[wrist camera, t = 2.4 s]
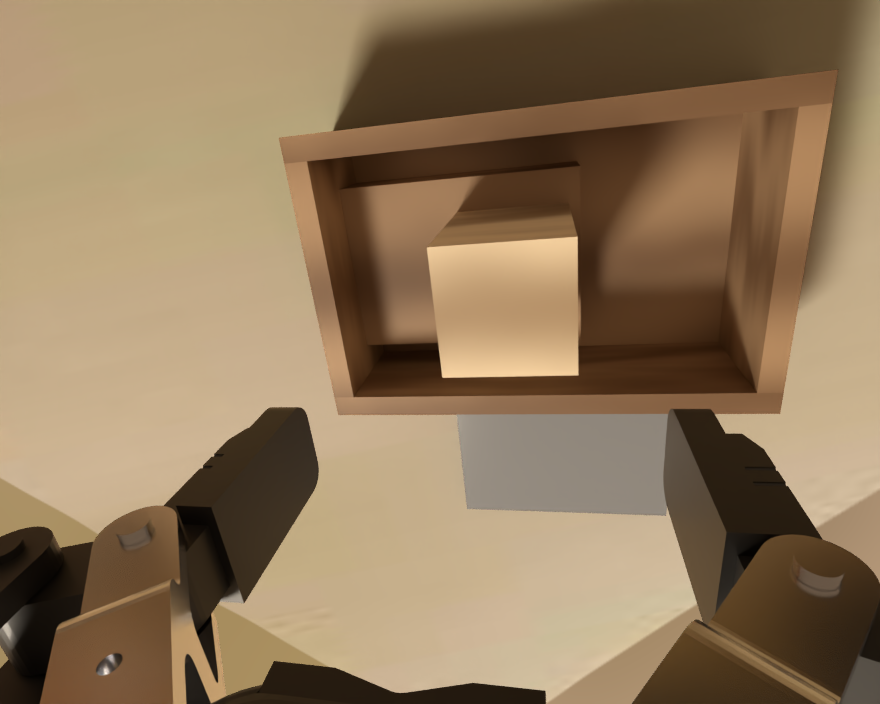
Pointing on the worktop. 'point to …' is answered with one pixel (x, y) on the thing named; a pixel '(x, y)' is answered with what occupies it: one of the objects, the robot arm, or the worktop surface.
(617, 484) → the plate
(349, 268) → the walnut crate
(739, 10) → the worktop surface
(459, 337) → the maple block
